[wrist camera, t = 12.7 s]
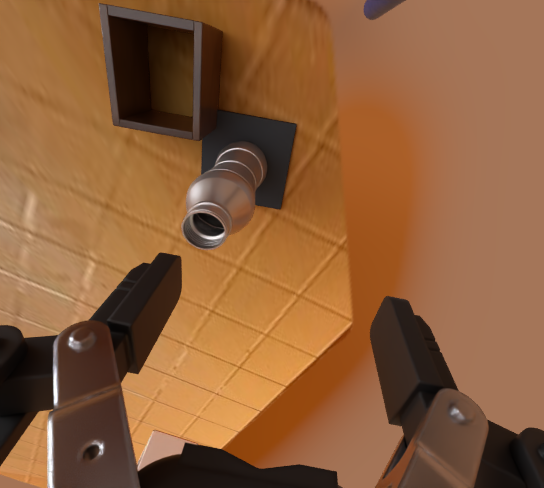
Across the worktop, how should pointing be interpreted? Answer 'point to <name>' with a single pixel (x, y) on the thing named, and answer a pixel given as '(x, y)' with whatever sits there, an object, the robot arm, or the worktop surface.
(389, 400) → the robot arm
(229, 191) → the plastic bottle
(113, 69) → the holder
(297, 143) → the worktop surface
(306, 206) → the worktop surface
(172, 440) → the gable box
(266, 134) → the mat
